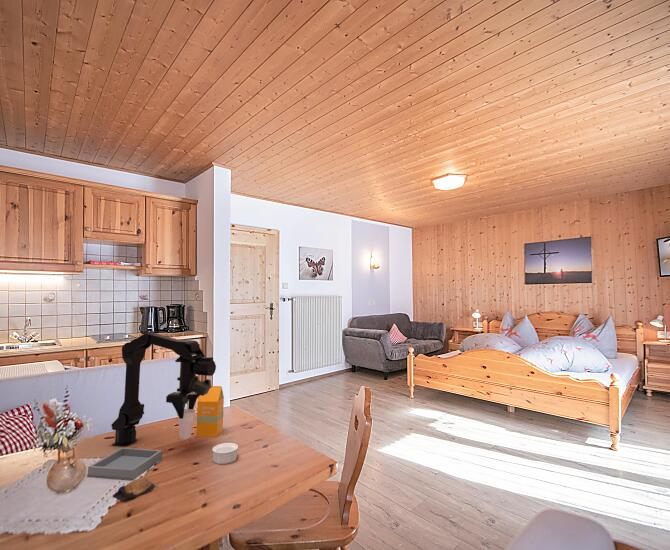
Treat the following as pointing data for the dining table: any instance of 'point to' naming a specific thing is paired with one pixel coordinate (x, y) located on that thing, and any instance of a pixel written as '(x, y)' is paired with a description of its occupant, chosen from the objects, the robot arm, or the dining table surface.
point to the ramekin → (224, 453)
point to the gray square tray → (125, 463)
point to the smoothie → (186, 423)
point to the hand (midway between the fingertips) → (186, 415)
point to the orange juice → (210, 413)
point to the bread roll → (134, 490)
